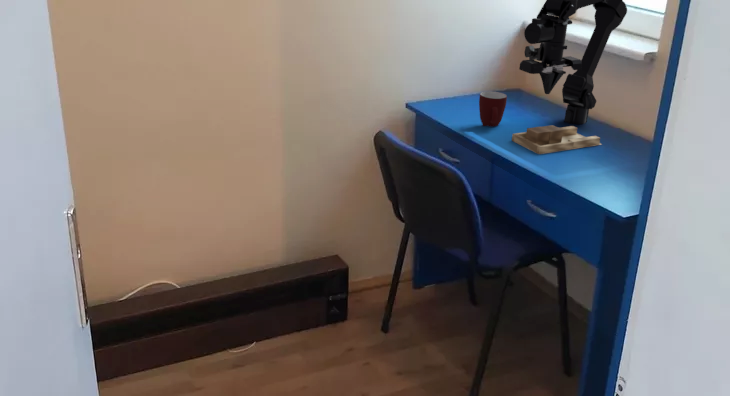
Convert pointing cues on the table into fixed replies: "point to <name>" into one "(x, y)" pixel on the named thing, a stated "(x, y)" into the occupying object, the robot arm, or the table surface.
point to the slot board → (568, 142)
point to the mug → (492, 107)
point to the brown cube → (554, 134)
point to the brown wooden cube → (538, 135)
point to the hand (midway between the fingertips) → (546, 93)
